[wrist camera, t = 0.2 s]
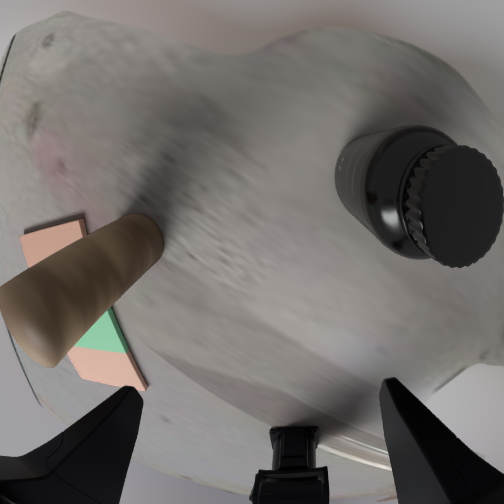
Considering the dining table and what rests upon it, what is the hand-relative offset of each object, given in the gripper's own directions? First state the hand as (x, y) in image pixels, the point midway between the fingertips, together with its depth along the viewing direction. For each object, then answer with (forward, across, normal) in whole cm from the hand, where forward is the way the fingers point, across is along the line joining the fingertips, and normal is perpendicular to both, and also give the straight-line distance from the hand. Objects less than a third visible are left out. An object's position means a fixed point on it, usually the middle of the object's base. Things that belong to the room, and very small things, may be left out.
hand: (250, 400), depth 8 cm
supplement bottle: (+15, -9, -4) cm, 18 cm away
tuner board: (+14, +24, +6) cm, 28 cm away
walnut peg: (+14, +11, -2) cm, 18 cm away
